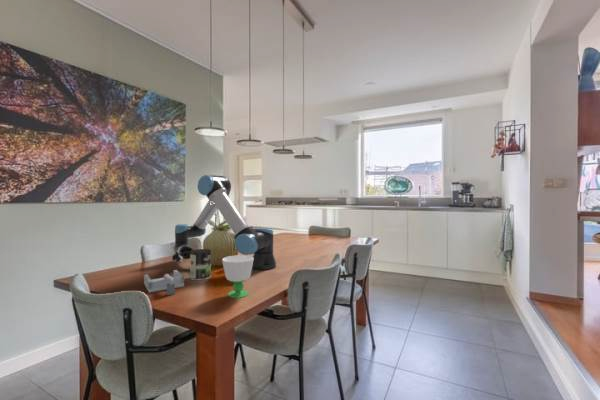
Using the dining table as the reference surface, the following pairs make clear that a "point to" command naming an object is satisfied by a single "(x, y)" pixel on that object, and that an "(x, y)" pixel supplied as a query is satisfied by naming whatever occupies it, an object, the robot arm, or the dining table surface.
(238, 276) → the cup
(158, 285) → the tray
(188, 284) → the dining table surface
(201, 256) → the coffee can
